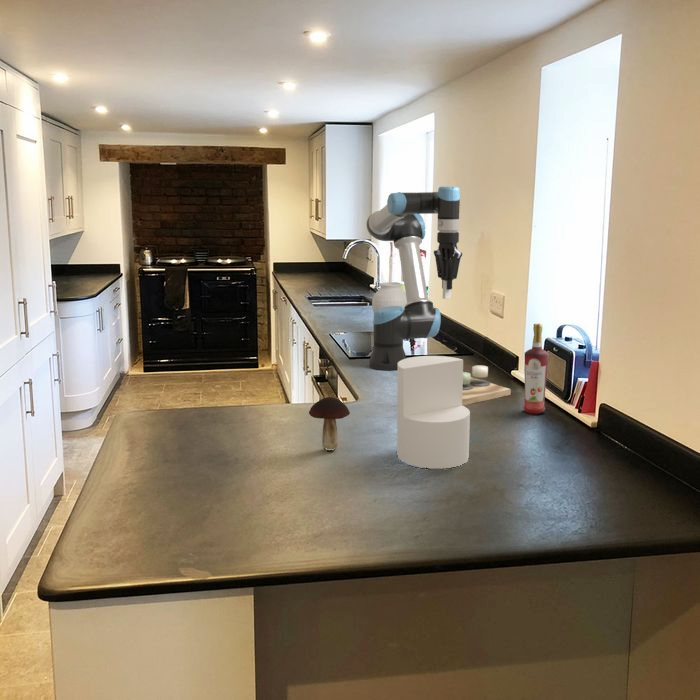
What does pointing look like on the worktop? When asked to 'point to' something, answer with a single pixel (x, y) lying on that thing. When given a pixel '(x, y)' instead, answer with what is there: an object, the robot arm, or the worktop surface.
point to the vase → (389, 296)
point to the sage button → (466, 378)
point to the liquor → (535, 374)
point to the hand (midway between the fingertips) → (446, 298)
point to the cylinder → (432, 412)
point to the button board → (482, 391)
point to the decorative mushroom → (329, 418)
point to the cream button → (479, 371)
